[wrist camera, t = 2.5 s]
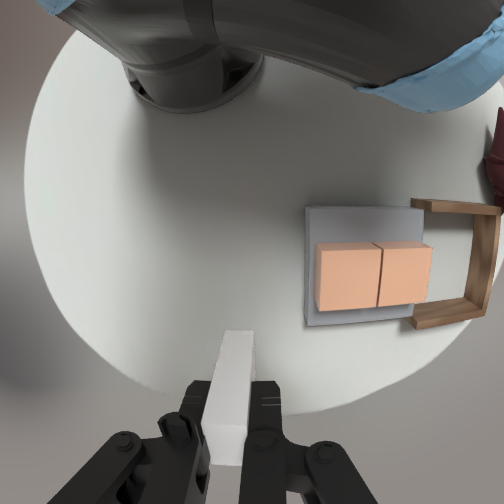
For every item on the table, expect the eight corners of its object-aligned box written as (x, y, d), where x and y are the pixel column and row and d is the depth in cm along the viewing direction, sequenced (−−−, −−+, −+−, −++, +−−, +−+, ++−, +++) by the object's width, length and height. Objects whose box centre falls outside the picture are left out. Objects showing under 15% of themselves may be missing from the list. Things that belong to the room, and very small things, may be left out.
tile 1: (315, 243, 26) (321, 251, 23) (368, 241, 26) (381, 249, 22) (313, 297, 27) (319, 311, 24) (365, 294, 27) (375, 306, 24)
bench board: (304, 206, 28) (309, 208, 25) (410, 207, 27) (424, 209, 24) (304, 313, 31) (307, 326, 28) (401, 305, 30) (412, 316, 27)
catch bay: (410, 198, 27) (431, 201, 23) (479, 203, 26) (501, 207, 22) (400, 312, 30) (415, 329, 26) (466, 302, 30) (484, 315, 25)
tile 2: (371, 241, 25) (383, 249, 22) (416, 240, 25) (432, 247, 22) (367, 294, 27) (378, 306, 24) (411, 290, 27) (425, 301, 23)
